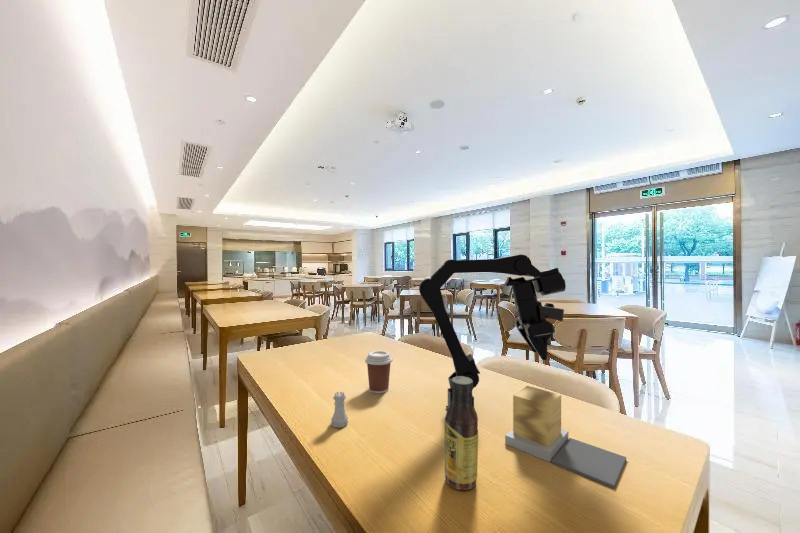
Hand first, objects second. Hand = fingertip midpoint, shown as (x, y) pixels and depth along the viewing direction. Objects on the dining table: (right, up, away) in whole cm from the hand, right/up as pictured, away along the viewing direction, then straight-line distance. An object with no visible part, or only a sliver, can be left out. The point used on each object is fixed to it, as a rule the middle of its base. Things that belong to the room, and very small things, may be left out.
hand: (539, 355), depth 87 cm
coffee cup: (-45, -17, +20) cm, 52 cm away
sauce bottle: (-26, -17, -26) cm, 41 cm away
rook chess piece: (-54, -17, -3) cm, 56 cm away
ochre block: (-6, -15, -12) cm, 20 cm away
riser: (-6, -17, -12) cm, 21 cm away
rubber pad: (+2, -17, -19) cm, 26 cm away
